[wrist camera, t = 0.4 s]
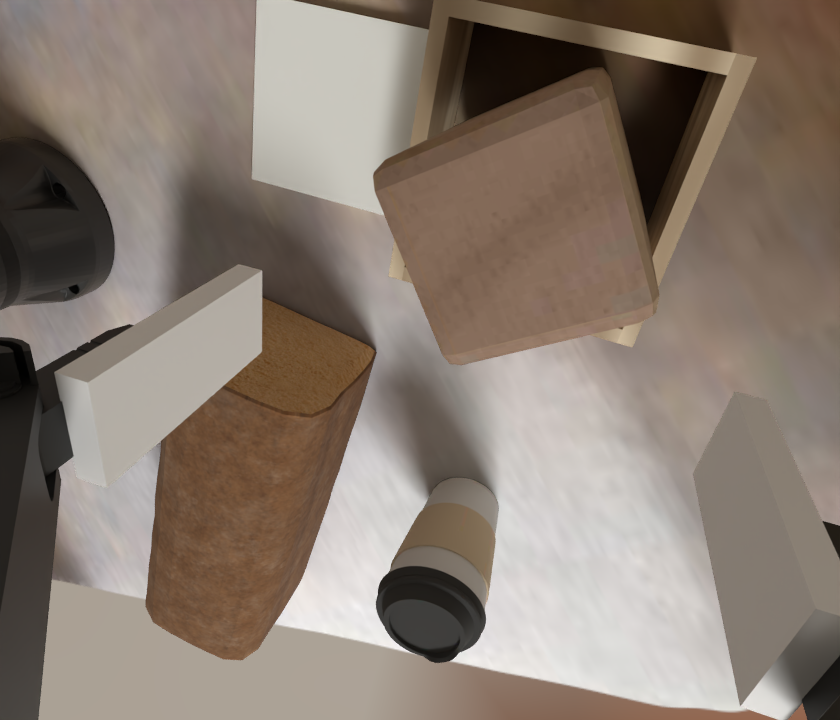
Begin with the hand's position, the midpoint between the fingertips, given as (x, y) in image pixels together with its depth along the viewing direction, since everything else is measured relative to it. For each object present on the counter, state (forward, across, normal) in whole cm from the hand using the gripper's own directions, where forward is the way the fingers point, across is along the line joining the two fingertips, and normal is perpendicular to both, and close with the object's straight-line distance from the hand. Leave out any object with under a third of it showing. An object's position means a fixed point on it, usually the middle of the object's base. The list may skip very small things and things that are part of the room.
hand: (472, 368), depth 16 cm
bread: (+30, -20, -33) cm, 49 cm away
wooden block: (+29, 0, +1) cm, 29 cm away
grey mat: (+29, -17, +1) cm, 34 cm away
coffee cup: (+29, 0, -32) cm, 44 cm away
